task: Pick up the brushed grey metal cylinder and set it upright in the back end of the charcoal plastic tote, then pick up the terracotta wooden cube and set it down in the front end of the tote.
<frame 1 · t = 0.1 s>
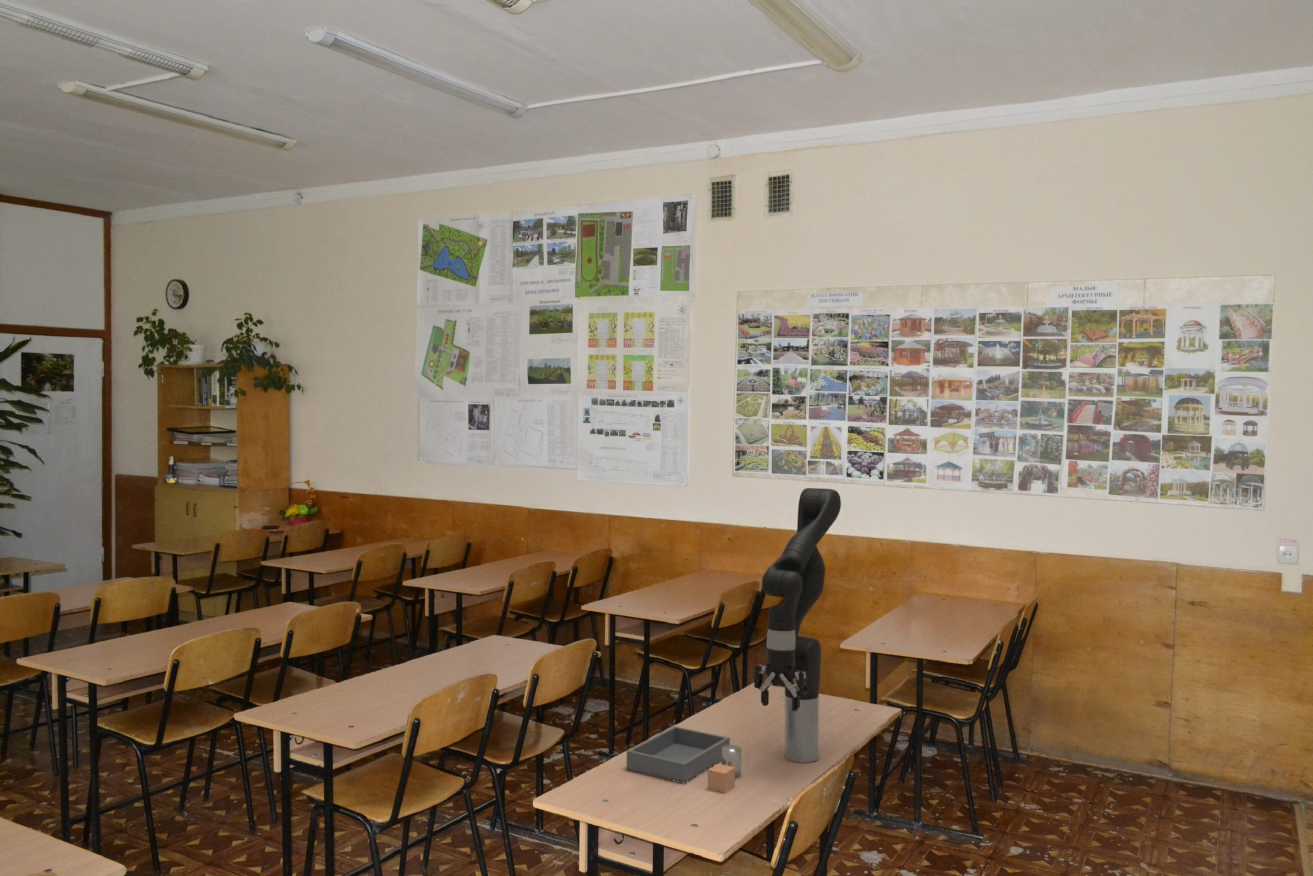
hand: (780, 708, 249), 17 cm above the table, tool pointing down, fingers open, 8 cm apart
cube: (721, 788, 239), on the table
tote: (679, 762, 256), on the table
cylinder: (731, 774, 247), on the table
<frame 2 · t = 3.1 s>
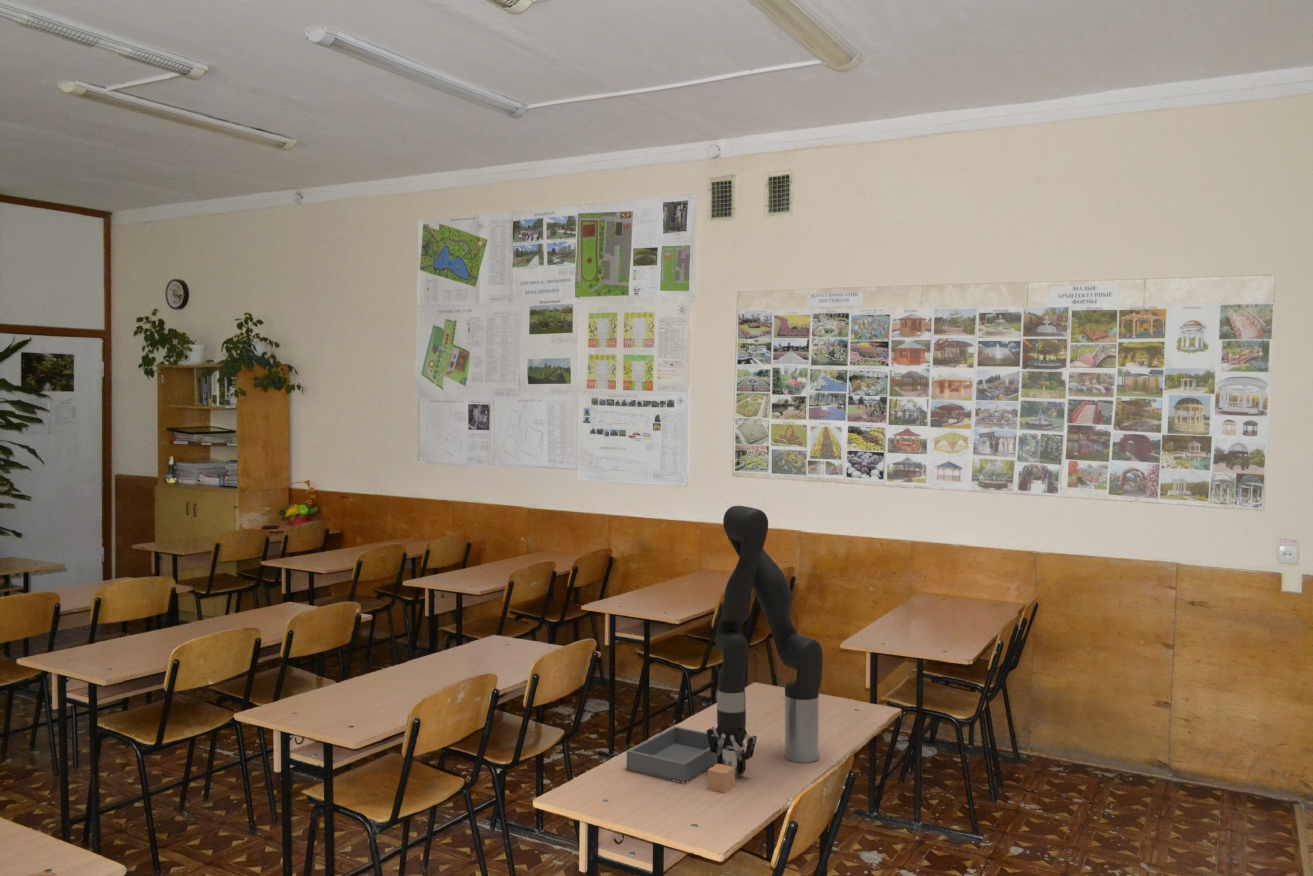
hand: (731, 771, 247), 1 cm above the table, tool pointing down, fingers closed on cylinder, 5 cm apart
cylinder: (731, 774, 247), on the table, touching gripper
everything else where it was.
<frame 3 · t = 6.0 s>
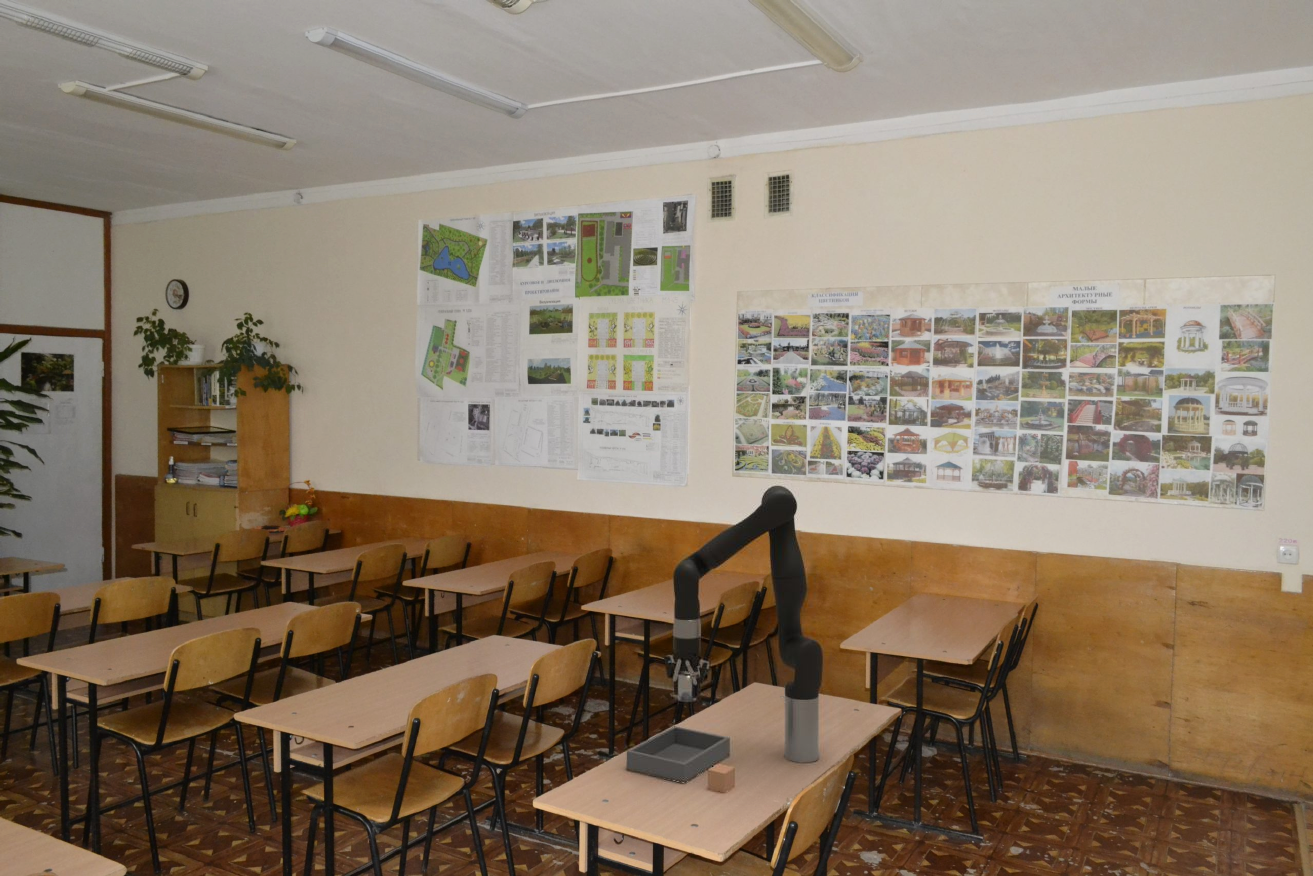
hand: (687, 695, 259), 17 cm above the table, tool pointing down, fingers closed on cylinder, 5 cm apart
cylinder: (687, 699, 259), point 16 cm above the table, touching gripper
everything else where it was.
when the fingers open (3 cm above the table, at t = 9.1 s): cylinder drops 1 cm, resting on tote.
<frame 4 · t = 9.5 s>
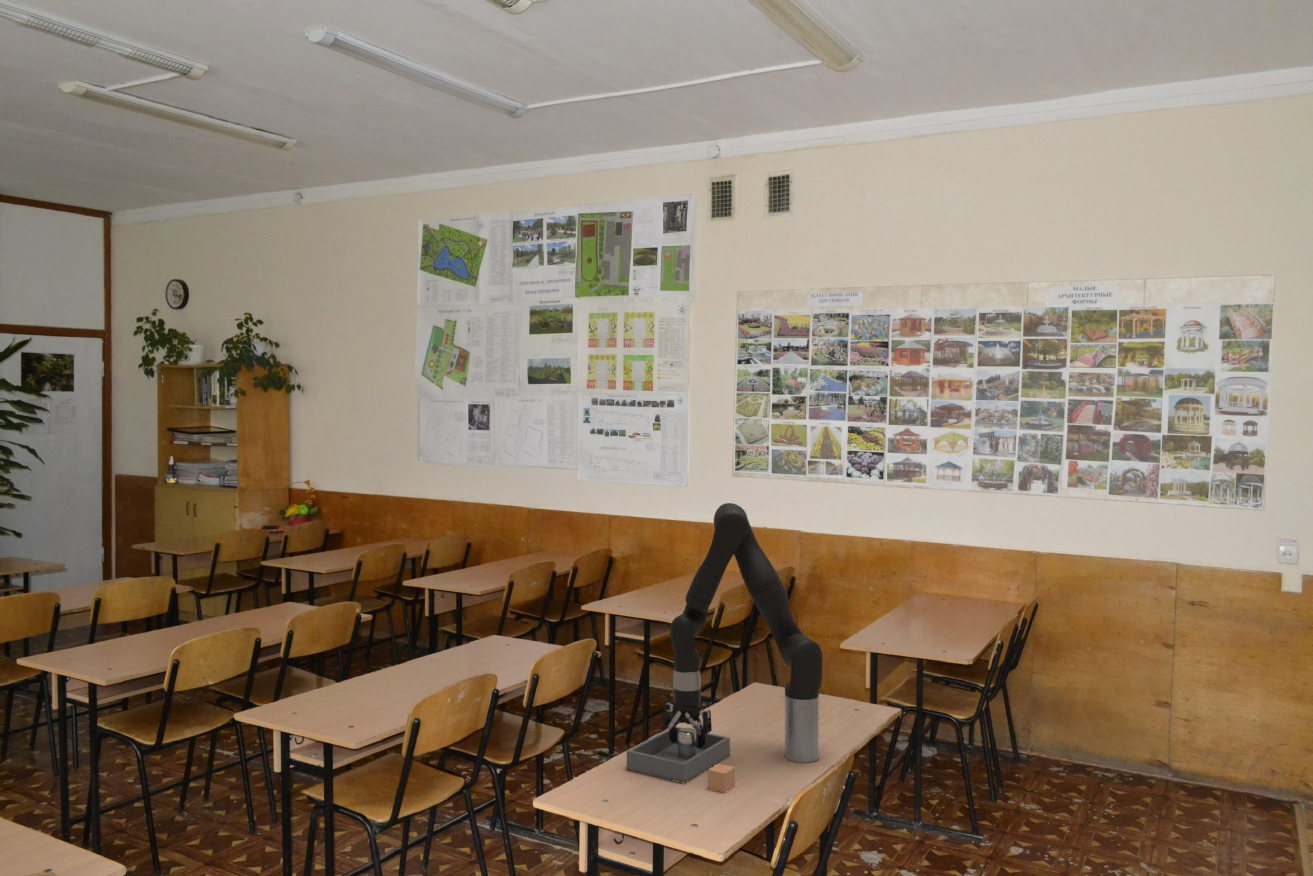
hand: (686, 744, 259), 4 cm above the table, tool pointing down, fingers open, 8 cm apart
cylinder: (687, 756, 259), point 1 cm above the table, touching tote
everything else where it was.
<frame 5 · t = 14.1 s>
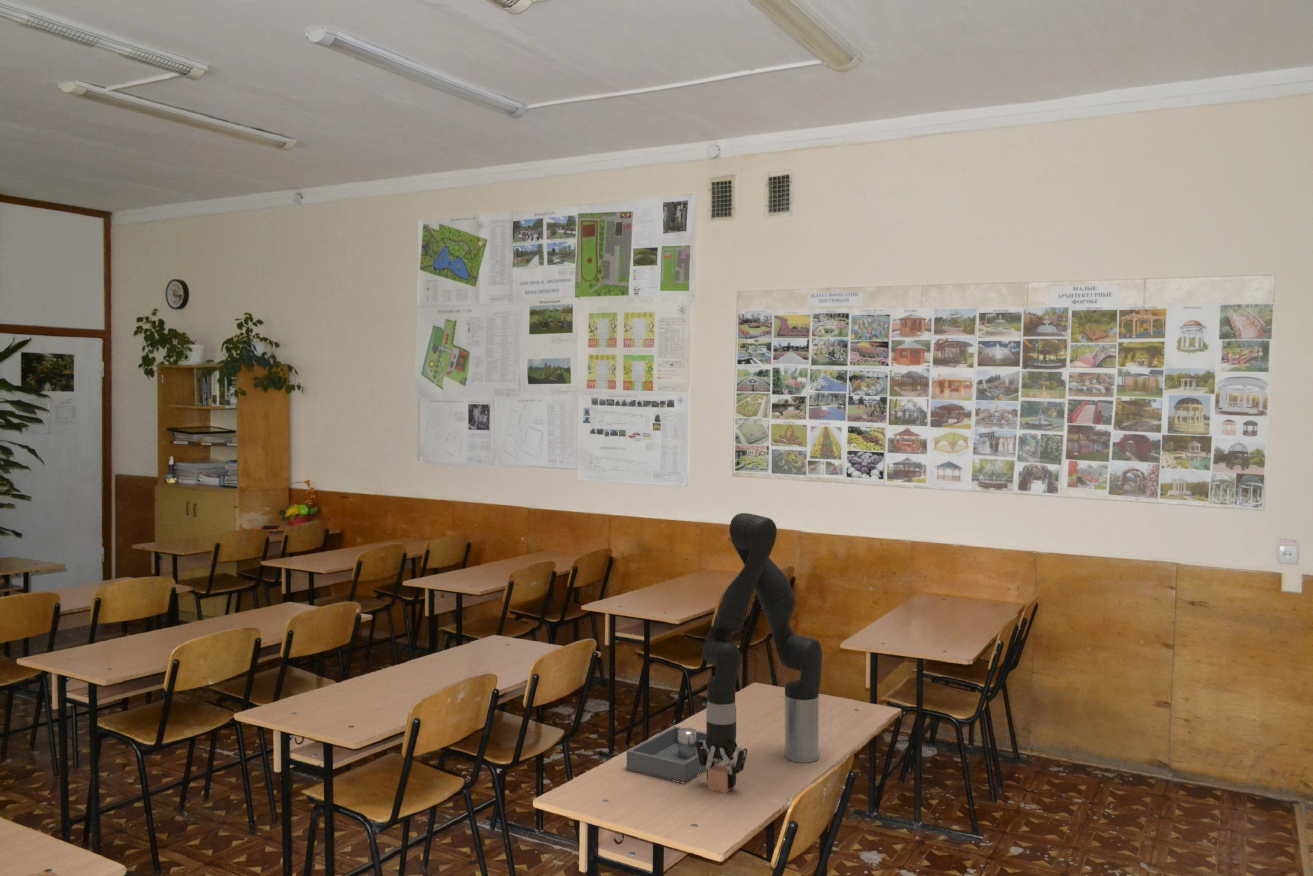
hand: (721, 785, 239), 1 cm above the table, tool pointing down, fingers closed on cube, 5 cm apart
cube: (721, 788, 239), on the table, touching gripper
everything else where it was.
when the fingers open (2 cm above the table, at t = 20.4 s): cube drops 1 cm, resting on tote.
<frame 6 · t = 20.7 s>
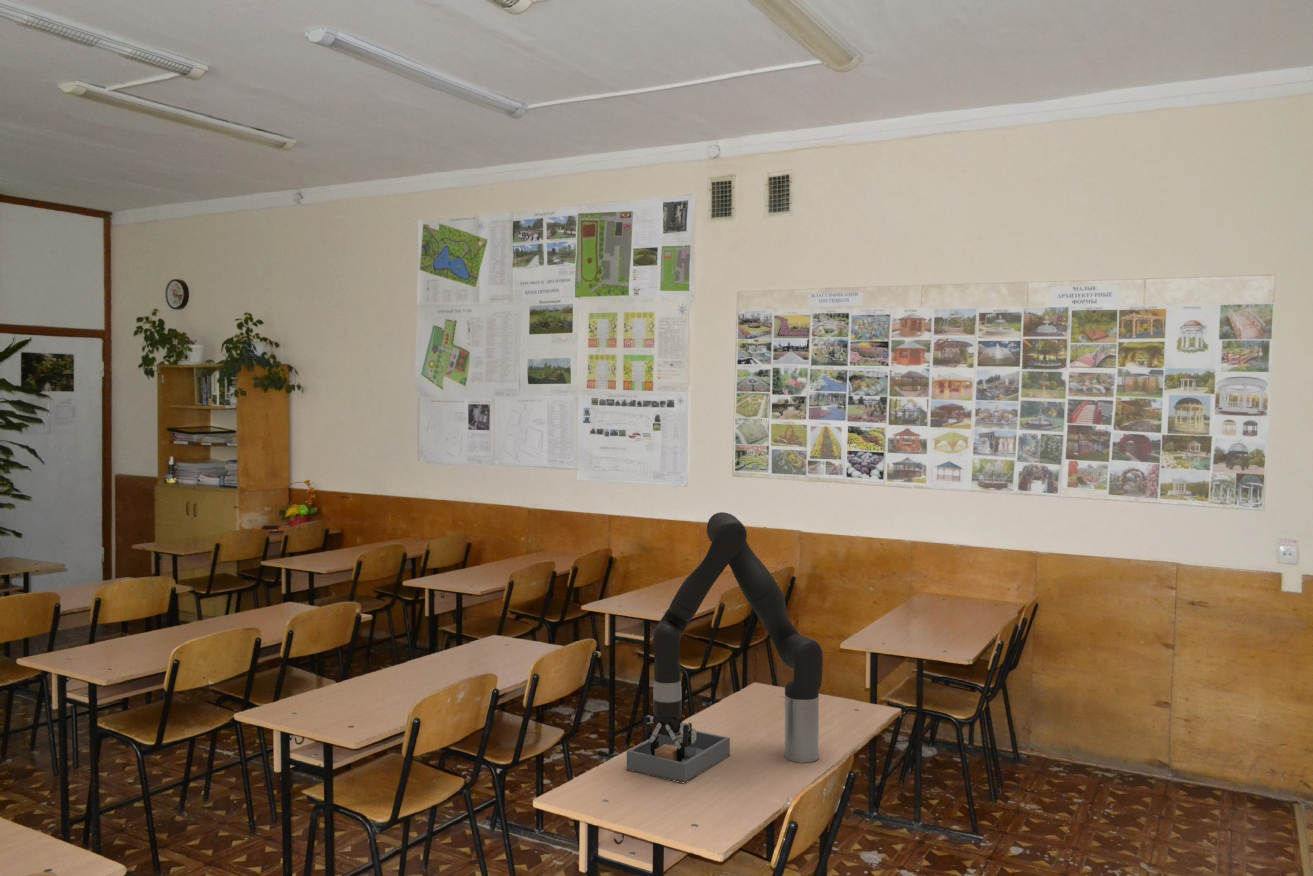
hand: (667, 758, 251), 3 cm above the table, tool pointing down, fingers open, 7 cm apart
cube: (667, 767, 251), point 1 cm above the table, touching tote
everything else where it was.
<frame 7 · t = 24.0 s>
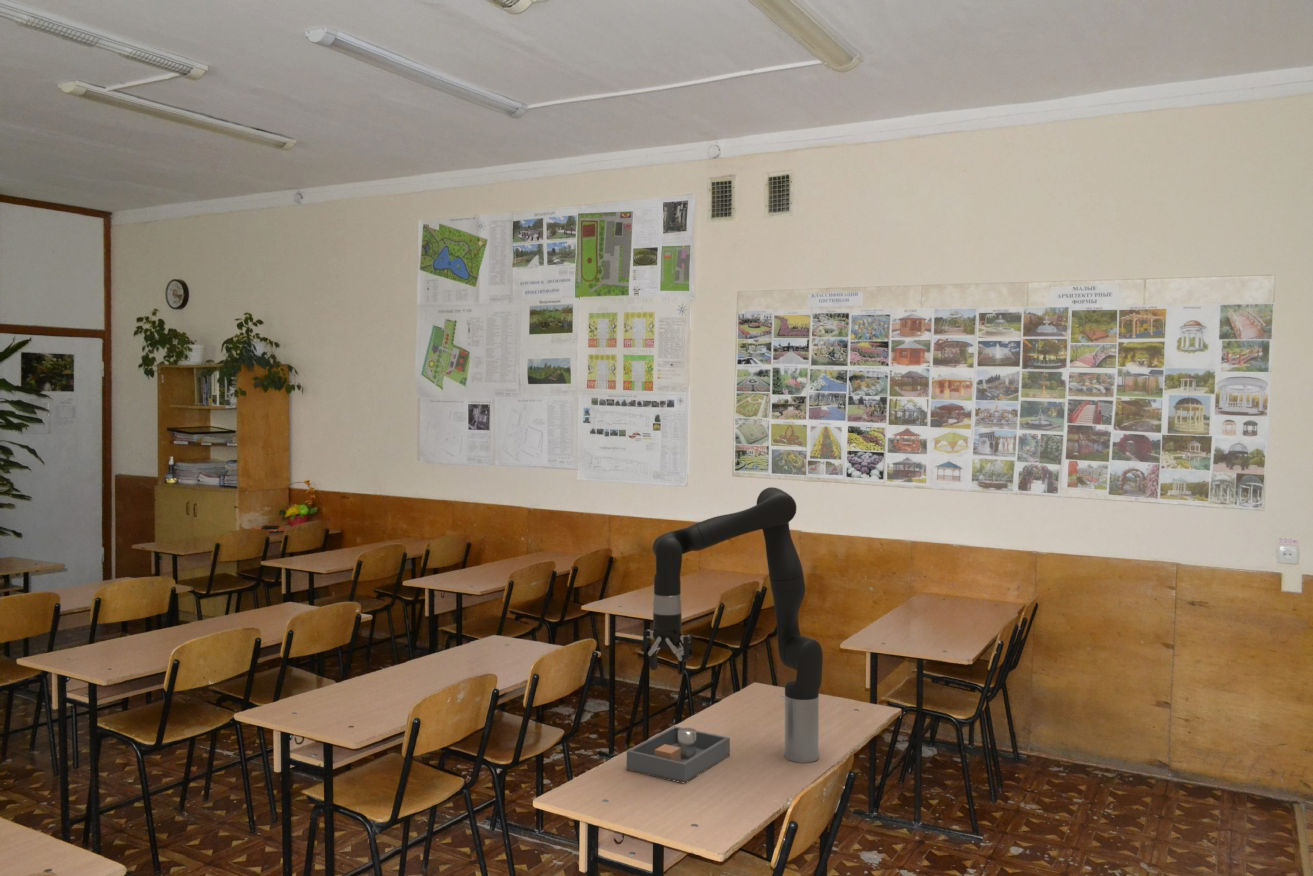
hand: (667, 671, 250), 26 cm above the table, tool pointing down, fingers open, 8 cm apart
nothing on the table moved.
at the end: cylinder inside the target area on the tote (3.9 cm from its centre), point 0.6 cm above the tote's base; cube inside the target area on the tote (6.1 cm from its centre), point 0.6 cm above the tote's base; the gripper is holding nothing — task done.
